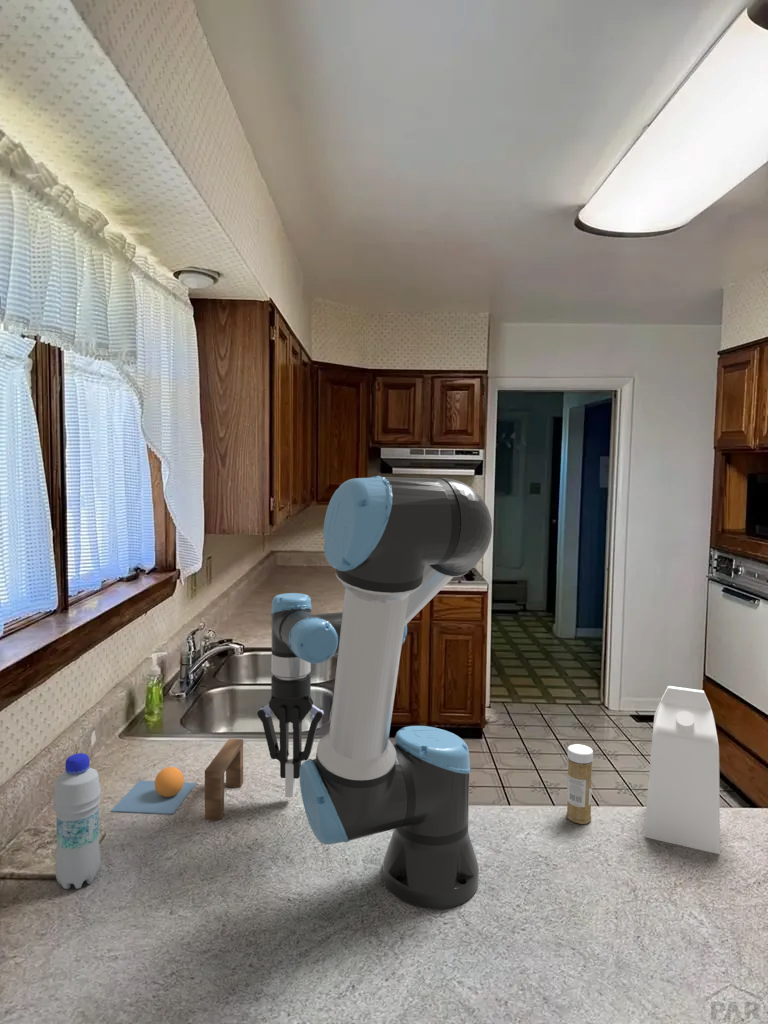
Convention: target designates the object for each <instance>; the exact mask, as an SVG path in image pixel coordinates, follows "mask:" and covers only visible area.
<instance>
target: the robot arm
mask: <svg viewBox="0 0 768 1024" xmlns="http://www.w3.org/2000/svg"><path fill="white" fill-rule="evenodd" d="M322 529H323V532H322V538H323V539H324V542H323V543H324V544H323V551H324V556H325V558H326V560H327V562H328V564H329V565H330V567H332V568H333V569H335V576H336V578H337V579H338V581H339V582H340V583H341V584H342V585H343V586H344V587H345V589H344V598H343V606H342V611H341V612H339V611H338V612H326V613H317V614H315V613H312V611H313V608H312V599H311V596H310V595H308V594H304V593H297V592H288V593H281V594H276V595H275V596H274V597H272V598H273V599H272V600H271V612H270V617H271V663H270V664H271V665H270V669H271V672H270V673H271V674H272V676H271V680H270V682H271V685H270V686H271V687H270V688H271V689H270V690H271V691H270V692H271V693H270V695H271V697H270V700H269V701H268V704H267V705H265V706H260V708H259V710H258V711H257V714H256V715H257V717H258V718H259V719H260V722H261V723H262V727H263V730H264V736H265V738H266V743H267V748H268V752H269V755H270V758H271V759H272V760H276V761H278V762H279V764H280V765H279V767H280V769H279V773H280V774H279V777H280V778H281V779H284V781H285V785H284V786H285V787H284V789H285V790H284V792H285V795H284V796H285V798H293V797H294V796H295V793H296V791H297V788H296V785H297V782H296V781H297V779H299V786H300V793H301V799H302V803H303V807H304V812H305V816H306V819H307V821H308V825H309V826H310V829H311V831H312V833H313V835H314V837H315V838H316V839H317V841H319V843H322V844H323V845H328V846H329V845H334V844H340V843H345V844H347V843H349V842H350V841H354V840H357V839H362V838H365V837H369V836H373V835H376V834H380V833H383V832H384V833H385V832H388V831H392V830H393V832H392V834H391V838H390V840H389V843H388V846H387V849H386V852H385V854H384V857H383V863H382V865H383V866H382V878H383V883H384V886H385V887H386V889H387V890H388V891H389V893H390V894H391V895H392V896H393V897H395V898H396V899H398V900H399V901H401V902H403V903H405V904H408V905H411V906H413V907H416V908H422V909H432V910H441V909H442V910H443V909H449V908H452V907H456V906H459V905H461V904H463V903H465V902H466V901H468V900H470V899H471V898H472V897H473V896H474V895H475V893H476V892H477V890H478V888H479V877H480V876H479V875H480V873H479V871H480V869H479V863H478V860H477V856H476V853H475V850H474V846H473V843H472V840H471V837H470V834H469V833H470V832H469V812H470V811H469V810H470V809H469V806H470V773H471V770H472V769H471V764H470V750H469V749H470V748H469V747H468V745H467V743H466V742H465V741H464V739H462V738H461V737H460V736H459V735H457V734H455V733H453V732H451V731H448V730H446V729H441V728H437V727H434V726H427V725H409V726H404V727H402V728H400V729H399V730H398V731H396V734H395V736H394V742H395V743H392V741H391V740H390V731H391V724H392V717H393V710H394V703H395V696H396V695H395V694H396V688H397V682H398V675H399V668H400V667H399V666H400V660H401V653H402V647H403V645H404V643H405V641H406V637H407V634H408V624H409V623H410V622H411V620H412V619H413V618H414V617H415V616H416V615H418V613H420V611H421V610H423V608H425V607H426V606H427V604H428V603H429V602H430V601H431V600H432V599H434V598H435V596H436V595H437V594H438V593H439V592H440V591H441V590H442V589H443V588H444V587H445V586H446V585H447V584H448V583H449V582H450V581H451V580H452V579H454V578H458V577H462V576H464V575H466V574H468V573H469V572H470V571H471V570H473V568H474V567H476V566H477V564H478V563H479V562H480V561H481V559H482V558H483V557H484V556H485V554H486V552H487V551H488V548H489V546H490V543H491V541H492V533H493V523H492V517H491V513H490V510H489V508H488V505H487V504H486V502H485V501H484V499H483V498H482V496H481V495H480V494H479V493H478V492H477V491H476V490H474V489H473V488H472V487H471V486H469V484H467V483H464V482H462V481H459V480H456V479H452V478H447V477H436V478H435V477H434V478H431V477H430V478H429V477H428V478H427V477H426V478H425V477H398V476H396V477H394V476H380V475H376V476H371V477H358V478H357V477H356V478H350V479H348V480H346V481H344V482H343V483H341V484H340V485H339V486H338V488H337V489H336V490H335V491H334V492H333V495H331V498H330V500H329V503H328V505H327V509H326V512H325V516H324V523H323V528H322ZM335 655H336V656H337V659H336V671H335V678H334V685H333V694H332V695H333V697H332V704H331V706H332V707H331V713H330V722H329V731H328V732H326V733H325V734H324V735H323V736H322V737H321V738H320V739H319V740H318V743H317V745H316V755H315V759H312V758H309V757H310V755H311V753H312V749H313V745H314V741H315V737H316V732H317V729H318V725H319V722H320V720H321V719H322V718H323V715H324V713H325V710H324V708H322V707H321V708H320V707H319V708H318V707H317V706H316V705H314V701H313V699H312V696H311V695H312V694H311V690H312V689H311V686H312V685H311V683H312V682H311V679H312V678H311V674H310V673H311V672H312V670H311V668H312V664H315V665H316V664H322V663H325V662H326V661H328V660H330V659H331V658H332V657H333V656H335ZM309 712H310V719H311V722H310V724H309V730H308V733H307V737H306V741H305V744H304V749H303V748H302V747H303V746H302V744H303V743H302V742H303V741H302V740H303V738H302V736H303V733H302V732H303V730H302V729H303V728H302V727H303V720H304V719H305V718H306V716H307V715H308V714H309ZM272 714H273V715H274V716H275V717H276V718H277V721H278V722H279V725H278V726H279V727H278V728H279V743H278V739H277V738H278V737H277V736H276V731H275V726H274V722H273V718H272ZM290 723H291V724H292V732H293V733H292V757H289V755H290V752H289V747H290V745H289V742H290V741H289V738H290V737H289V735H290V734H289V733H290V732H289V730H290V728H289V727H290ZM302 749H303V751H302ZM302 761H303V762H302Z"/></svg>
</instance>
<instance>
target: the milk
mask: <svg viewBox="0 0 768 1024" xmlns="http://www.w3.org/2000/svg"><path fill="white" fill-rule="evenodd" d="M660 699H661V700H660V701H659V703H658V706H657V708H656V710H655V712H654V716H653V727H652V738H651V750H650V761H649V770H648V771H649V774H648V785H647V786H648V787H647V795H646V807H645V808H646V809H645V820H644V821H645V822H644V832H643V833H644V834H643V838H647V839H651V840H655V841H661V842H665V843H668V844H674V845H678V846H682V847H687V848H690V849H695V850H700V851H703V852H708V853H713V854H717V855H721V838H720V837H721V836H720V835H721V832H720V831H721V829H720V828H721V823H720V821H721V819H720V818H721V816H720V815H721V814H720V801H721V800H720V746H719V738H718V734H717V733H718V732H717V726H716V721H715V716H714V712H713V710H712V707H711V704H710V702H709V700H708V697H707V695H706V692H705V690H704V689H703V690H702V689H696V688H695V689H694V688H690V687H688V688H687V687H680V686H673V685H668V686H667V687H666V689H665V691H664V692H663V694H662V697H661V698H660Z"/></svg>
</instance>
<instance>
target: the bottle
mask: <svg viewBox="0 0 768 1024" xmlns="http://www.w3.org/2000/svg"><path fill="white" fill-rule="evenodd" d="M64 765H65V771H64V772H62V773H61V774H59V775H58V776H57V777H56V779H55V783H54V784H55V786H54V792H53V799H52V802H53V805H54V806H53V811H54V812H55V814H56V817H55V819H56V855H55V856H56V857H55V877H56V878H55V879H56V882H57V883H58V884H60V885H61V887H62V888H63V889H65V890H69V889H70V888H71V885H74V888H75V889H78V890H79V889H81V888H82V886H83V883H84V882H85V881H86V884H87V885H89V884H91V883H93V882H94V881H95V878H96V876H97V875H98V874H99V872H100V869H101V849H100V847H101V846H100V840H99V839H100V837H99V835H100V832H99V831H100V830H99V829H100V828H99V824H100V823H99V820H100V819H99V818H100V817H99V815H100V814H99V813H100V812H99V809H100V808H99V805H100V803H101V800H102V799H101V795H102V788H101V783H100V777H99V772H98V770H97V769H95V768H93V767H90V756H89V755H88V754H86V753H82V752H80V753H79V752H78V753H74V754H71V755H69V756H68V757H67V758H66V760H65V764H64Z"/></svg>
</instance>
